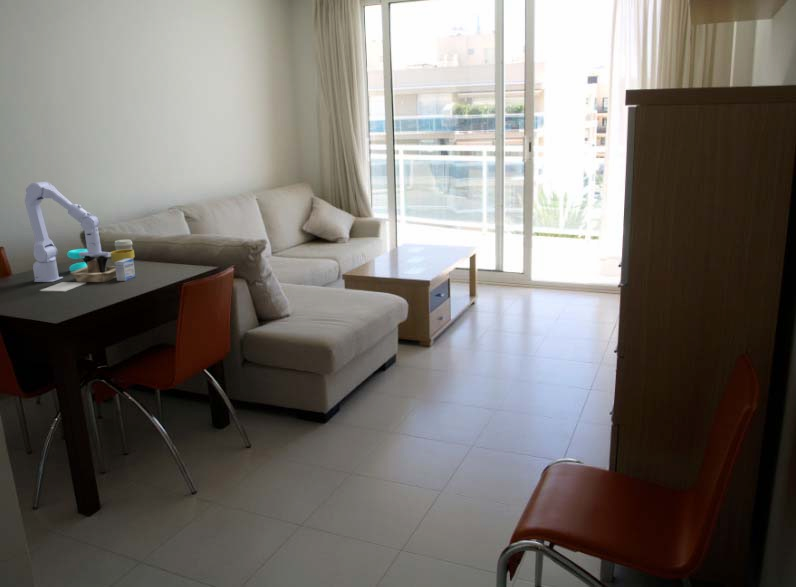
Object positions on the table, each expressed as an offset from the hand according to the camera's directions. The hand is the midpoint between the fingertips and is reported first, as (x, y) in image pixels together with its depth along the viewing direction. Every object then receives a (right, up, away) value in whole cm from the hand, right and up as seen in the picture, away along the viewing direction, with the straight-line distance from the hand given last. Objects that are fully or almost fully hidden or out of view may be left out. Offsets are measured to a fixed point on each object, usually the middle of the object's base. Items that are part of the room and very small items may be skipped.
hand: (97, 272), depth 308 cm
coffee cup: (+1, +5, +29) cm, 30 cm away
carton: (0, -3, +1) cm, 3 cm away
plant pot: (+7, +1, +13) cm, 15 cm away
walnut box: (0, -2, +1) cm, 2 cm away
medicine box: (+14, -3, -2) cm, 14 cm away
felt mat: (-9, -7, -13) cm, 17 cm away
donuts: (-16, +1, +19) cm, 25 cm away
